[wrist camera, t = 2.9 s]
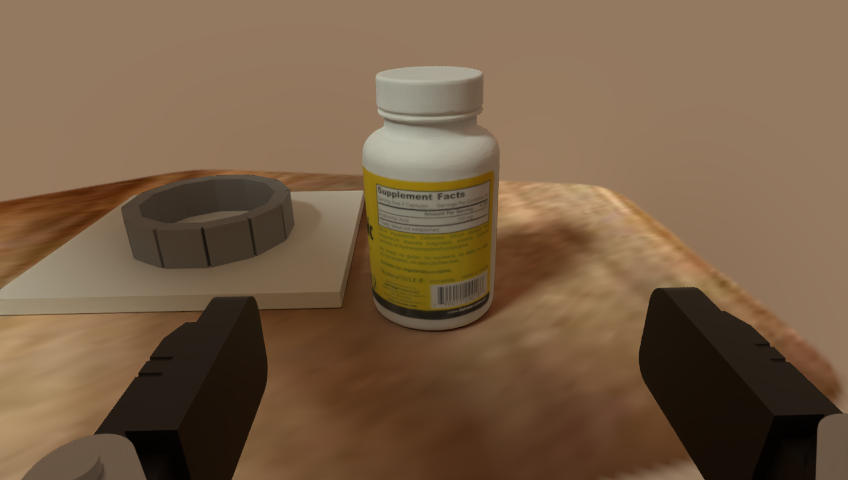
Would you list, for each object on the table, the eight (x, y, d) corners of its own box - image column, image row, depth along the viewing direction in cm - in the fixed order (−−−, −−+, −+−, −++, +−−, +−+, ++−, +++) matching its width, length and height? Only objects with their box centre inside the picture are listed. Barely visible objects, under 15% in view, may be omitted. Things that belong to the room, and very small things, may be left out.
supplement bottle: (402, 263, 26) (396, 61, 22) (506, 283, 24) (520, 66, 20) (349, 318, 22) (328, 78, 18) (471, 347, 20) (481, 86, 16)
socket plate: (-7, 315, 22) (-32, 257, 21) (137, 206, 34) (126, 165, 33) (341, 307, 23) (336, 249, 21) (364, 201, 34) (361, 161, 33)
